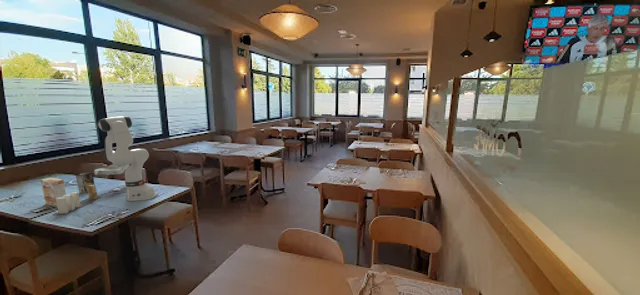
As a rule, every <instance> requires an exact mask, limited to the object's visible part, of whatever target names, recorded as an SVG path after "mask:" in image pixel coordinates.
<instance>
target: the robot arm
mask: <svg viewBox="0 0 640 295" xmlns="http://www.w3.org/2000/svg"><path fill="white" fill-rule="evenodd" d="M132 126H133V120H132V118H131V117H130V116H128V115H122V116H121V115H120V116H110V117H107V118H102V119H99V120H98V128H99V129H100V130H101V131H102V132H106V133H107V136H105V138H104V141H103V142H104V145H103V146H104V148H103V149H104V154H103V159H104V161H105V162H111V163H112V164H110V165H108V166H107V167H101V168H96V169H94V171H93V172H94V175H95V176H99V175H106V176H110V175H113V176H114V175H121V174H124V178H125V182H124V184H125V187H126V194H125V200H126V201H127V202H133V201H134V202H135V201H146V200H151V199H154V198H156V197H157V196H158V195H159V192H157V191H156V192H155V189H154V187H153V186H151V185H149V184H148V183H146V179H143V173H142V170H143V166H144V164H145V162H146V161H147V160H148V159H149V157H150V153H149V152H148V150H147V149H145V148H134V149H129V147H130V146H131V145H133V143H134V138H133V136H132V133H131V131H130V129H131V127H132ZM113 144H116V149H115V150H113Z"/></svg>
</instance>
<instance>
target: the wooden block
mask: <svg viewBox="0 0 640 295" xmlns="http://www.w3.org/2000/svg"><path fill="white" fill-rule="evenodd" d="M87 190H88V192H87V195H88V198H89V199H97V198H98V197H99V196H98V193H97V187H96V184H95V185H88V186H87Z"/></svg>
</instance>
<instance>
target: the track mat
mask: <svg viewBox="0 0 640 295" xmlns="http://www.w3.org/2000/svg"><path fill="white" fill-rule="evenodd" d="M97 197H98V198H97V199H89V197H87V198H86V199H83V200H80V205H81V206H80V207H75V209H74V210H69V212H68V213H59V212H55V213H53V214H52V216H68V215H70V214H71V213H74V212H75V211H78V210H79V209H82V208H84V207H86V206H88V205H89V204H92V203H94V202H96V201H98V200H101V199H102V198H103V196H97Z"/></svg>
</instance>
